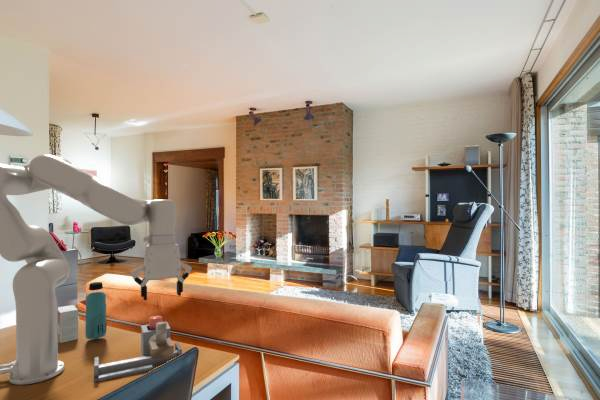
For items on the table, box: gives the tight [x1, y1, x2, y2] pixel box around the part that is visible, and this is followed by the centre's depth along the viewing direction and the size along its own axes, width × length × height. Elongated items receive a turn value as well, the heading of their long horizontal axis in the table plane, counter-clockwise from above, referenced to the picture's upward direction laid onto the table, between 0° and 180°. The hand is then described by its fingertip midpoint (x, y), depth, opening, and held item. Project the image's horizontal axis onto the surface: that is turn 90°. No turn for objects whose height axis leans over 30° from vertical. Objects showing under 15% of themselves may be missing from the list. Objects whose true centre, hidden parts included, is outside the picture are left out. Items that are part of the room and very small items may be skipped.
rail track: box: [93, 342, 183, 383], centre depth 105 cm, size 23×8×4 cm, turn 119°
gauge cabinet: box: [140, 322, 171, 357], centre depth 115 cm, size 8×7×8 cm
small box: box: [58, 304, 79, 344], centre depth 126 cm, size 8×6×10 cm
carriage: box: [149, 321, 175, 360], centre depth 108 cm, size 6×7×9 cm
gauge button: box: [148, 315, 163, 329], centre depth 115 cm, size 4×4×3 cm
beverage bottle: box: [84, 281, 108, 340], centre depth 125 cm, size 6×7×20 cm
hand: (162, 296), depth 108 cm, fingers open, 9 cm apart
